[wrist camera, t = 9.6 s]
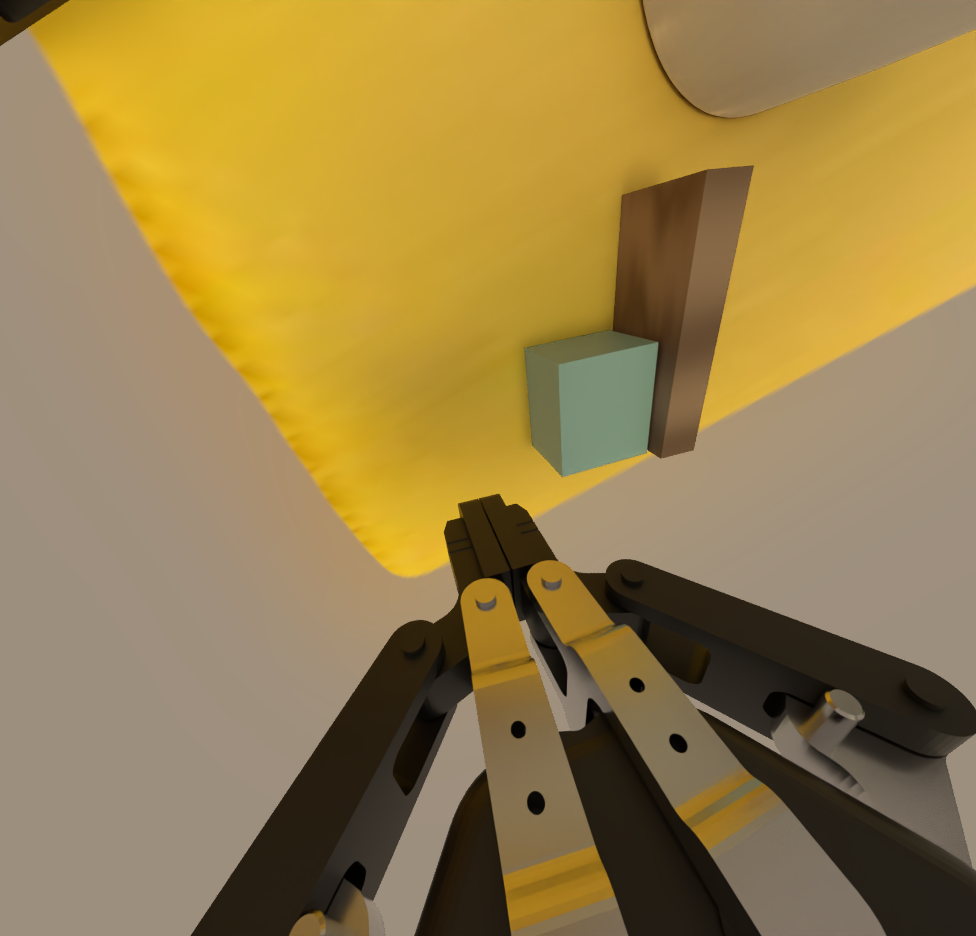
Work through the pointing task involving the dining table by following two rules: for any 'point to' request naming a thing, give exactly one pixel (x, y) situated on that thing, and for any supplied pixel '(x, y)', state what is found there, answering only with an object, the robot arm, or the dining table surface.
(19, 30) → the phone stand
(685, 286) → the walnut board
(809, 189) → the dining table surface
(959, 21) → the utensil holder
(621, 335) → the teal block
